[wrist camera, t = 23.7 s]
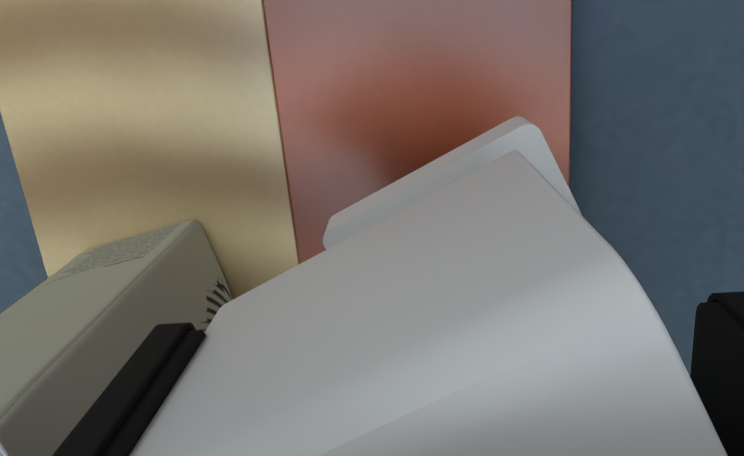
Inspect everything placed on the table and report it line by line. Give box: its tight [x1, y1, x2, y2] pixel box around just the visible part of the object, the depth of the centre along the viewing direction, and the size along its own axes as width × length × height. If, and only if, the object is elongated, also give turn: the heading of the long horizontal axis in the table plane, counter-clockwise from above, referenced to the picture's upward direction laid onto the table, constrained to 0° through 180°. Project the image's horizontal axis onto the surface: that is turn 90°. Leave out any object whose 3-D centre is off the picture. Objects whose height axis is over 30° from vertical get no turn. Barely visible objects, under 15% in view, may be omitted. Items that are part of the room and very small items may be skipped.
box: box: [0, 220, 233, 456], centre depth 18 cm, size 5×4×13 cm
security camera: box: [129, 116, 728, 456], centre depth 11 cm, size 6×7×10 cm
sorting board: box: [0, 0, 572, 299], centre depth 21 cm, size 24×20×1 cm
